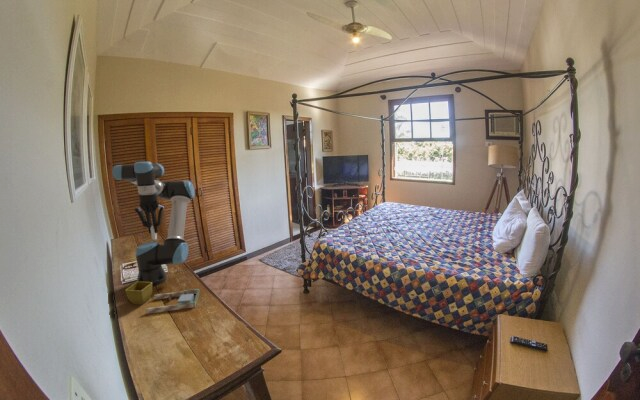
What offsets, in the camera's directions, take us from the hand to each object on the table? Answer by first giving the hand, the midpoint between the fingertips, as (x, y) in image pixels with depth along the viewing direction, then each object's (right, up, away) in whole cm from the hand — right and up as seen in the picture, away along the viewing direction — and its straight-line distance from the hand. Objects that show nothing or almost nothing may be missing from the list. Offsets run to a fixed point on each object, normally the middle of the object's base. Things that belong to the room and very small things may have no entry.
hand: (154, 239), depth 145 cm
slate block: (+16, -33, 0) cm, 37 cm away
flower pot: (-8, -33, +3) cm, 34 cm away
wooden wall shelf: (+10, -33, +1) cm, 34 cm away
